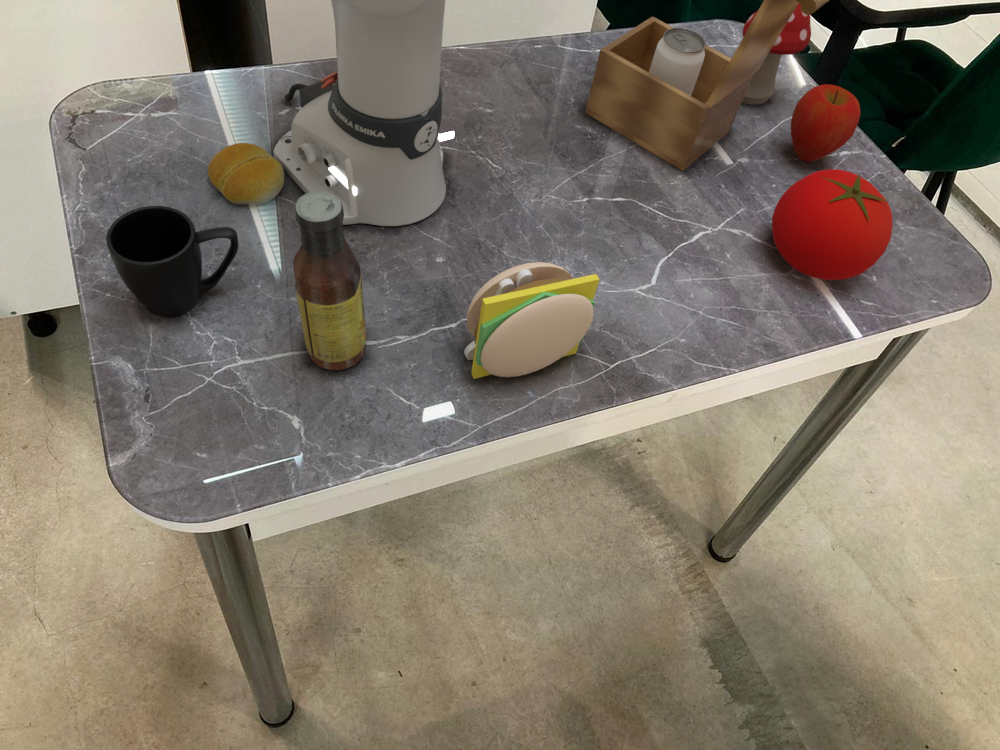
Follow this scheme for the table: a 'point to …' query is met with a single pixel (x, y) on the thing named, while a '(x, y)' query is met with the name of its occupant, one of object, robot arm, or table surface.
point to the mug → (164, 258)
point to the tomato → (832, 225)
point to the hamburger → (528, 319)
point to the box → (660, 98)
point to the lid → (759, 42)
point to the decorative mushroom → (777, 55)
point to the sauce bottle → (328, 284)
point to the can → (679, 58)
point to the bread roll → (246, 174)
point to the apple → (823, 121)
